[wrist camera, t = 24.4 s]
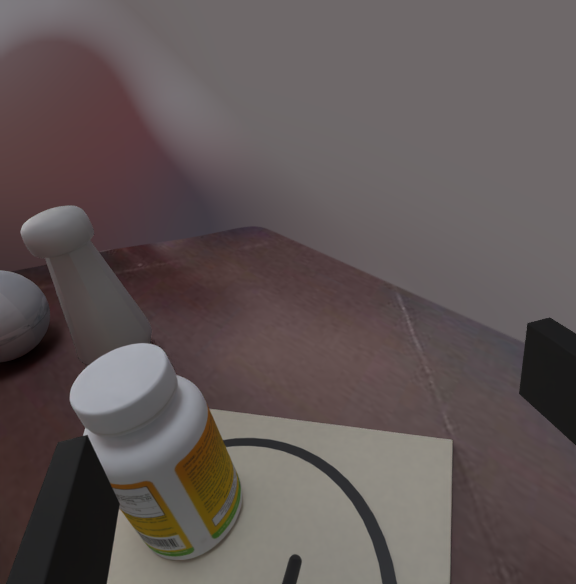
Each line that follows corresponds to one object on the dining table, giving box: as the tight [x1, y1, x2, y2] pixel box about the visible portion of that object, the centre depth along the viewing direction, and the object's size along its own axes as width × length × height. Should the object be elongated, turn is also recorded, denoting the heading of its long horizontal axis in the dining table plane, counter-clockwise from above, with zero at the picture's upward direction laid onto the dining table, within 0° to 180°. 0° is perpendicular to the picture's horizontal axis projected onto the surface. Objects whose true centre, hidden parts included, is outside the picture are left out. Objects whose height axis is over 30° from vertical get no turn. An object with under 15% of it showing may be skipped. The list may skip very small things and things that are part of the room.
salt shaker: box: [21, 206, 152, 366], centre depth 32 cm, size 6×6×13 cm
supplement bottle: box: [70, 343, 242, 560], centre depth 20 cm, size 5×5×10 cm
